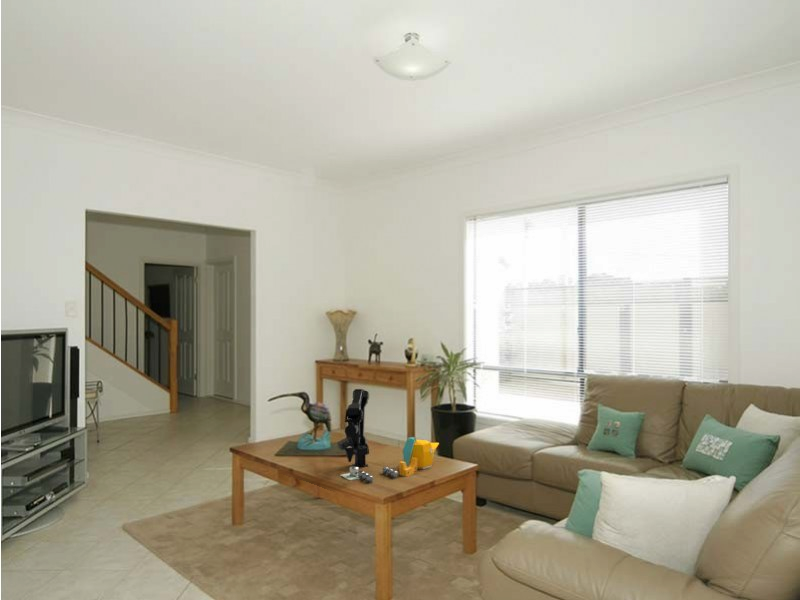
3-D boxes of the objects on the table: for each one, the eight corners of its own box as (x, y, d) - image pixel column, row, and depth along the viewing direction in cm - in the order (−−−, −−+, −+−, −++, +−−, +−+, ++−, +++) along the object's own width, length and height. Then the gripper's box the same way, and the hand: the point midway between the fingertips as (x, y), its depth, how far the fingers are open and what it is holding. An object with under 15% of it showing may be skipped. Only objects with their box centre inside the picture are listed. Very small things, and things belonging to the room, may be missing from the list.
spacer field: (357, 477, 276) (357, 471, 276) (386, 472, 285) (386, 466, 285) (368, 483, 266) (368, 477, 266) (398, 477, 276) (398, 471, 276)
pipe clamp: (406, 476, 278) (406, 463, 278) (399, 475, 281) (399, 462, 281) (420, 471, 287) (420, 458, 288) (413, 469, 290) (413, 457, 290)
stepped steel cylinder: (348, 475, 278) (348, 466, 278) (355, 473, 281) (355, 465, 281) (352, 477, 275) (352, 468, 275) (360, 475, 277) (360, 467, 277)
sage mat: (340, 475, 279) (340, 474, 279) (358, 472, 285) (358, 471, 285) (349, 480, 271) (349, 479, 271) (367, 477, 276) (367, 476, 276)
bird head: (448, 462, 303) (448, 432, 303) (415, 472, 285) (415, 440, 285) (430, 457, 313) (429, 429, 313) (396, 467, 295) (396, 436, 295)
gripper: (331, 431, 282) (331, 462, 281) (348, 438, 266) (348, 471, 265) (350, 428, 287) (350, 459, 287) (368, 435, 272) (368, 467, 271)
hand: (354, 464), depth 278 cm, fingers open, 9 cm apart
